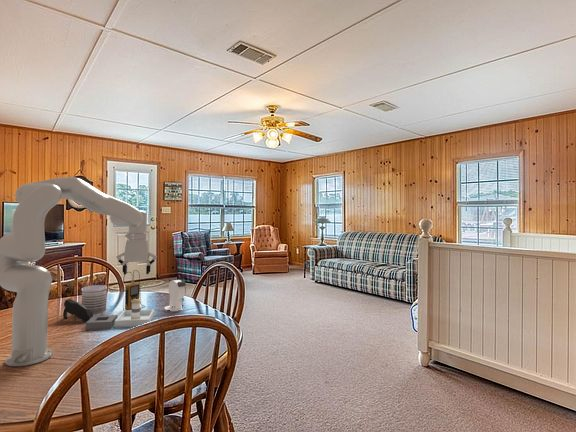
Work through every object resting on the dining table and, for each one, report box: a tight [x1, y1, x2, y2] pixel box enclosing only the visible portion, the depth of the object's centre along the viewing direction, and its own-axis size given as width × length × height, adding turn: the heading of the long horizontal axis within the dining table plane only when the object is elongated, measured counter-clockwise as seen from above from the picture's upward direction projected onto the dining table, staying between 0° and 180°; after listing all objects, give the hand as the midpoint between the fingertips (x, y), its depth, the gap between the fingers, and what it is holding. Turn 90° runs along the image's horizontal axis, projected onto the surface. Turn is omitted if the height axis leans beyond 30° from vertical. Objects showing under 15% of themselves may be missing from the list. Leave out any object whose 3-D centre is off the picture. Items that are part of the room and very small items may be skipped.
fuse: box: [131, 298, 142, 320], centre depth 156 cm, size 4×4×9 cm
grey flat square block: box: [85, 314, 119, 331], centre depth 149 cm, size 10×10×3 cm
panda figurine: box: [164, 277, 187, 312], centre depth 179 cm, size 12×11×15 cm
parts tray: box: [113, 309, 155, 329], centre depth 156 cm, size 16×14×3 cm
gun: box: [62, 298, 94, 323], centre depth 156 cm, size 3×16×10 cm, turn 79°
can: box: [81, 284, 108, 315], centre depth 171 cm, size 11×11×12 cm
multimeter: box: [122, 269, 145, 312], centre depth 175 cm, size 15×10×20 cm
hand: (136, 273), depth 156 cm, fingers open, 9 cm apart
